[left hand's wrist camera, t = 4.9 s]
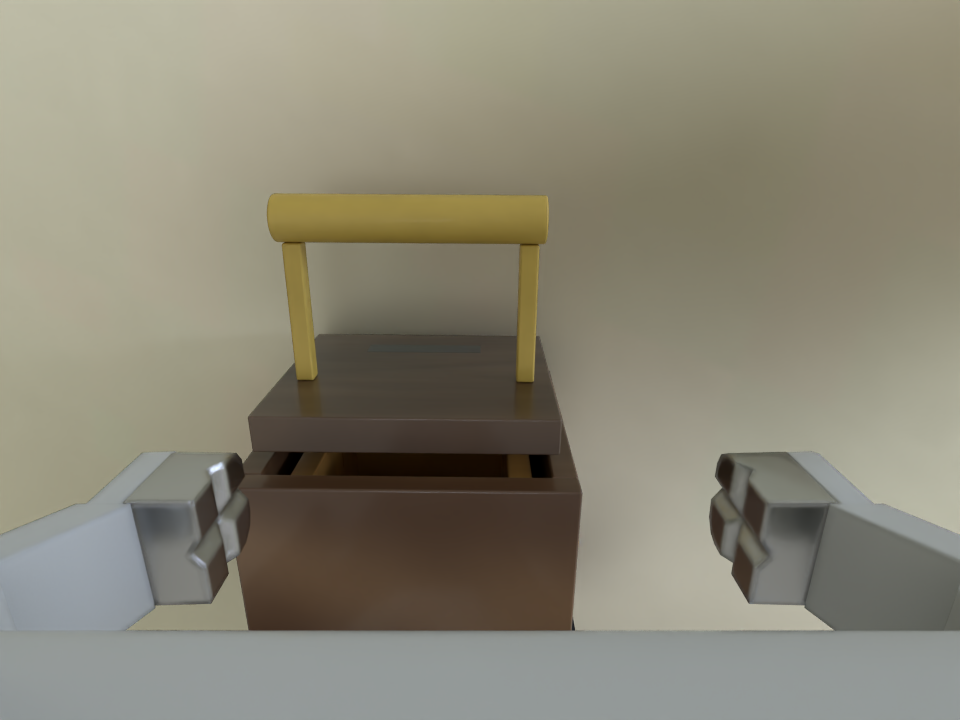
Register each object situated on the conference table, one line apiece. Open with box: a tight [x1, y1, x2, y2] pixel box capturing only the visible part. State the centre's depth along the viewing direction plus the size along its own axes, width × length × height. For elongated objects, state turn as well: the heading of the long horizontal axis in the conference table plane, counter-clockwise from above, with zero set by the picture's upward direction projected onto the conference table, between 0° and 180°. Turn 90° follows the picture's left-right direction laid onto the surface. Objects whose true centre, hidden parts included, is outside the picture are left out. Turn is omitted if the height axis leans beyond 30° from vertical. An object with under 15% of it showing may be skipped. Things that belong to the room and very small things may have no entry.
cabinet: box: [236, 372, 582, 631], centre depth 24 cm, size 13×10×10 cm
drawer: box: [248, 193, 562, 478], centre depth 22 cm, size 18×9×8 cm, turn 0°
